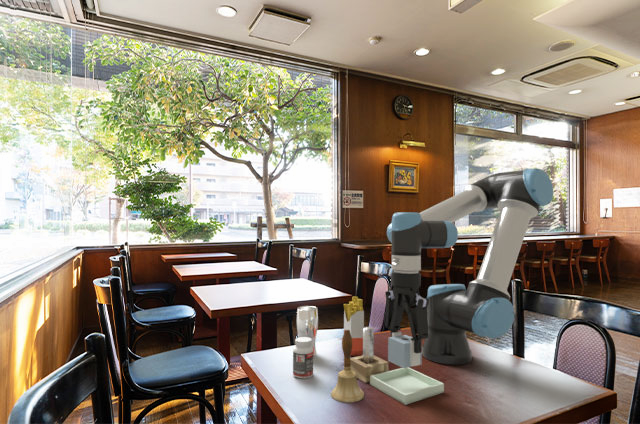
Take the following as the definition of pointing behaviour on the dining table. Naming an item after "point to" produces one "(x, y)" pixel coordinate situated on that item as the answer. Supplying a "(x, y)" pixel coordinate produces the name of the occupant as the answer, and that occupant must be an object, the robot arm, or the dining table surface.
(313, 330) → the beer glass
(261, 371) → the dining table surface
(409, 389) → the tray
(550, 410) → the dining table surface
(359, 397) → the hand bell
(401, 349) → the slate-blue block
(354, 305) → the french fries container
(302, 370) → the pill bottle
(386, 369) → the oak block
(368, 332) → the cylinder
